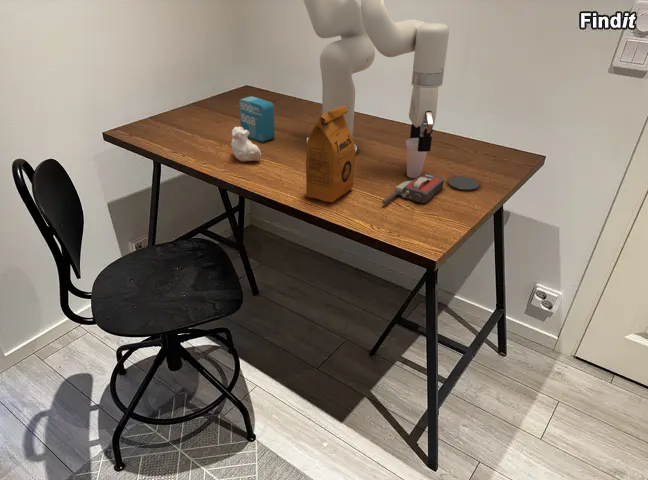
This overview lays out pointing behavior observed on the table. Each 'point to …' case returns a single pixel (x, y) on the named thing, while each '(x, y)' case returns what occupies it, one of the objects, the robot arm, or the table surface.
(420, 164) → the smoothie
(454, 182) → the coaster
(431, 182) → the walkie-talkie
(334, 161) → the coffee package
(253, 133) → the data package
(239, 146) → the white animal figurine
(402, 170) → the table surface
